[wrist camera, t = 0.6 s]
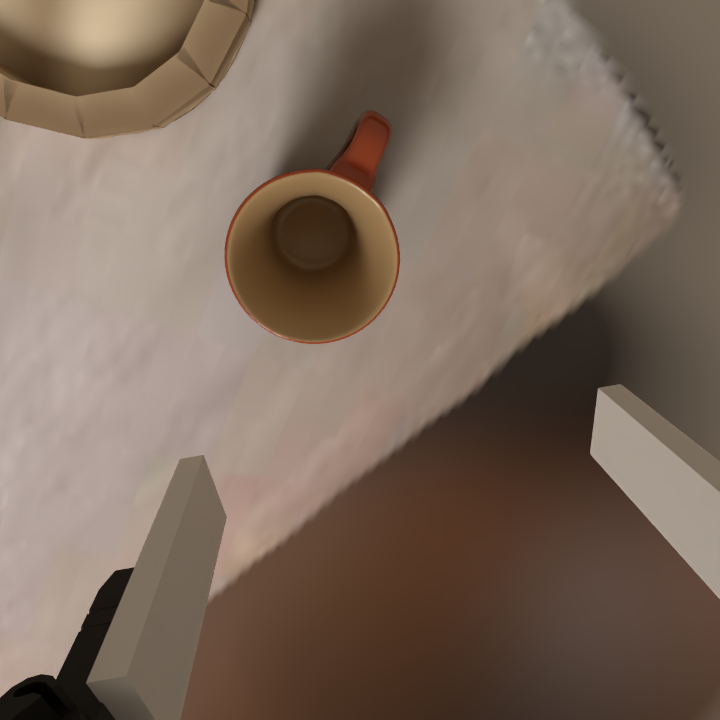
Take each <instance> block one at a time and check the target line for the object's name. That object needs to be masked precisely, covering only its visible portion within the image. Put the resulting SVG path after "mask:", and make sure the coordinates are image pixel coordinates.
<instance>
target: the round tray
mask: <svg viewBox="0 0 720 720" xmlns="http://www.w3.org/2000/svg"><path fill="white" fill-rule="evenodd" d="M254 1H255V0H0V116H1V117H3V118H4V119H7V120H11V121H15V122H19V123H23V124H27V125H31V126H35V127H40V128H44V129H48V130H52V131H56V132H60V133H64V134H68V135H72V136H77V137H81V138H95V139H100V138H106V137H112V136H118V135H124V134H135V133H140V132H144V131H148V130H153V129H159V128H164V127H166V126H167V125H168V124H170V123H171V122H173V121H175V120H177V119H178V118H180V117H182V116H183V115H185V114H186V113H188V112H190V111H191V110H193V109H194V108H195V107H196V106H197V105H199V104H200V103H201V102H202V101H203V100H204V99H205V98H207V97H208V96H209V95H210V94H211V92H213V91H214V90H215V89H216V88H217V87H218V85H219V83H220V82H221V81H222V79H223V78H224V77H225V75H226V73H227V72H228V70H229V68H230V67H231V65H232V64H233V62H234V60H235V59H236V56H237V54H238V52H239V50H240V47H241V45H242V43H243V40H244V38H245V36H246V32H247V30H248V28H249V26H250V22H251V18H252V12H253V6H254Z"/></svg>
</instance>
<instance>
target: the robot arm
mask: <svg viewBox="0 0 720 720" xmlns="http://www.w3.org/2000/svg"><path fill="white" fill-rule="evenodd" d="M590 454H591V455H592V456H593V458H594V459H595V460H596V461H597V462H598V463H599V464H600V465H601V467H602V468H603V469H604V470H605V471H606V472H607V473H608V474H609V476H611V478H612V479H613V480H614V481H615V482H616V483H617V484H618V486H620V488H621V489H622V490H623V491H624V492H625V493H626V495H627V496H628V497H629V498H630V499H631V500H632V501H633V502H634V503H635V505H636V506H637V507H638V508H639V509H640V510H641V511H642V512H643V514H644V515H645V516H646V517H647V518H648V519H649V520H650V521H651V523H652V524H653V525H654V526H655V527H656V528H657V529H658V530H659V532H660V533H661V534H662V535H663V536H664V537H665V538H666V539H667V540H668V541H669V543H670V544H671V545H672V546H673V547H674V548H675V549H676V551H677V552H678V553H679V554H680V555H681V556H682V557H683V558H684V559H685V561H686V562H687V563H688V564H689V565H690V566H691V567H692V568H693V570H694V571H695V572H696V573H697V574H698V575H699V576H700V577H701V578H702V580H703V581H704V582H705V583H706V584H707V585H708V586H709V588H710V589H711V590H712V591H713V592H714V593H715V594H716V595H717V596H718V598H719V599H720V462H719V461H718V460H717V459H716V458H714V457H713V456H712V455H710V454H709V453H708V452H706V451H705V450H704V449H702V448H701V447H700V446H699V445H697V444H696V443H695V442H694V441H693V440H691V439H690V438H689V437H687V436H686V435H685V434H684V433H682V432H681V431H680V430H678V429H677V428H676V427H675V426H673V425H672V424H671V423H670V422H668V421H667V420H666V419H664V418H663V417H662V416H661V415H659V414H658V413H657V412H655V411H654V410H653V409H651V408H650V407H649V406H648V405H647V404H645V403H644V402H643V401H641V400H640V399H639V398H638V397H636V396H635V395H634V394H632V393H631V392H630V391H629V390H627V389H626V388H625V387H624V386H622V385H621V384H620V385H614V386H608V387H602V388H598V394H597V402H596V412H595V419H594V427H593V436H592V443H591V451H590ZM226 518H227V517H226V514H225V511H224V509H223V506H222V503H221V500H220V498H219V495H218V492H217V490H216V487H215V484H214V482H213V479H212V476H211V474H210V471H209V468H208V466H207V463H206V460H205V458H204V455H202V456H196V457H190V458H184V459H180V460H179V463H178V465H177V468H176V470H175V472H174V475H173V477H172V479H171V482H170V484H169V487H168V489H167V491H166V494H165V496H164V499H163V501H162V503H161V506H160V508H159V510H158V513H157V515H156V518H155V520H154V522H153V525H152V527H151V529H150V532H149V534H148V537H147V539H146V541H145V544H144V546H143V549H142V551H141V553H140V556H139V558H138V560H137V563H136V565H135V567H134V568H128V569H122V570H117V571H115V572H114V573H113V574H112V575H111V576H110V578H109V579H108V580H107V581H106V582H105V583H104V585H103V586H102V587H101V588H100V589H99V591H98V593H97V595H96V597H95V599H94V601H93V604H92V606H91V608H90V610H89V611H90V612H89V614H87V616H86V618H85V620H84V622H83V624H82V627H81V632H79V633H78V635H77V637H76V639H75V641H74V643H73V645H72V647H71V650H70V652H69V654H68V656H67V658H66V660H65V662H64V664H63V666H62V668H61V670H60V672H59V675H58V677H57V679H55V678H54V677H53V676H50V675H43V674H41V675H37V676H34V677H30V678H27V679H25V680H24V681H22V682H20V683H19V684H17V685H15V686H13V687H12V688H11V689H10V690H8V691H7V692H6V693H5V694H4V695H3V696H2V697H1V698H0V720H180V717H181V713H182V708H183V704H184V699H185V695H186V691H187V687H188V682H189V678H190V674H191V669H192V665H193V661H194V656H195V652H196V648H197V643H198V639H199V635H200V630H201V626H202V622H203V617H204V613H205V609H206V604H207V600H208V596H209V591H210V587H211V583H212V578H213V574H214V570H215V565H216V561H217V557H218V552H219V548H220V544H221V539H222V535H223V531H224V526H225V522H226Z"/></svg>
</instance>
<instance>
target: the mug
mask: <svg viewBox="0 0 720 720" xmlns="http://www.w3.org/2000/svg"><path fill="white" fill-rule="evenodd" d="M391 132H392V127H391V124H390V122H389V121H388V120H387V119H386V118H385V117H383V116H382V115H380V114H378V113H377V112H375V111H372V110H366V111H365V112H363V113H362V114H361V116H360V117H359V118H358V120H357V121H356V123H355V125H354V127H353V128H352V130H351V132H350V134H349V136H348V138H347V140H346V142H345V144H344V145H343V147H342V149H341V150H340V152H339V153H338V154H337V156H336V157H335V158H334V159H333V161H332V162H331V163H330V164H329V166H328V167H327V169H326V170H325V169H304V170H298V171H292V172H289V173H285V174H282V175H279V176H277V177H274V178H272V179H270V180H268V181H267V182H265V183H263V184H262V185H260V186H259V187H258V188H256V189H255V190H254V191H253V192H252V193H251V194H250V195H249V196H248V197H247V198H246V199H245V200H244V201H243V203H242V204H241V205H240V207H239V208H238V210H237V211H236V213H235V215H234V217H233V219H232V221H231V224H230V226H229V229H228V233H227V237H226V243H225V267H226V273H227V277H228V280H229V284H230V286H231V289H232V291H233V293H234V295H235V297H236V299H237V301H238V302H239V304H240V305H241V307H242V308H243V309H244V311H245V312H246V313H247V314H248V315H249V316H250V317H251V318H252V319H253V320H254V321H255V322H256V323H257V324H259V325H260V326H261V327H263V328H264V329H266V330H267V331H269V332H271V333H272V334H275V335H277V336H279V337H281V338H284V339H287V340H290V341H294V342H299V343H307V344H321V343H329V342H334V341H338V340H341V339H344V338H347V337H349V336H351V335H353V334H355V333H357V332H359V331H360V330H362V329H363V328H365V327H366V326H367V325H369V324H370V323H371V322H372V321H373V320H374V319H375V318H376V317H377V316H378V315H379V314H380V313H381V311H382V310H383V309H384V308H385V306H386V304H387V303H388V301H389V299H390V297H391V296H392V293H393V291H394V288H395V286H396V282H397V279H398V274H399V266H400V251H399V243H398V238H397V235H396V231H395V228H394V226H393V223H392V221H391V219H390V216H389V214H388V212H387V211H386V209H385V207H384V206H383V204H382V203H381V202H380V201H379V199H378V198H377V197H375V196H374V195H373V194H372V193H371V191H372V189H373V186H374V183H375V177H376V171H377V167H378V165H379V162H380V160H381V158H382V156H383V154H384V151H385V149H386V147H387V144H388V142H389V139H390V136H391Z"/></svg>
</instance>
